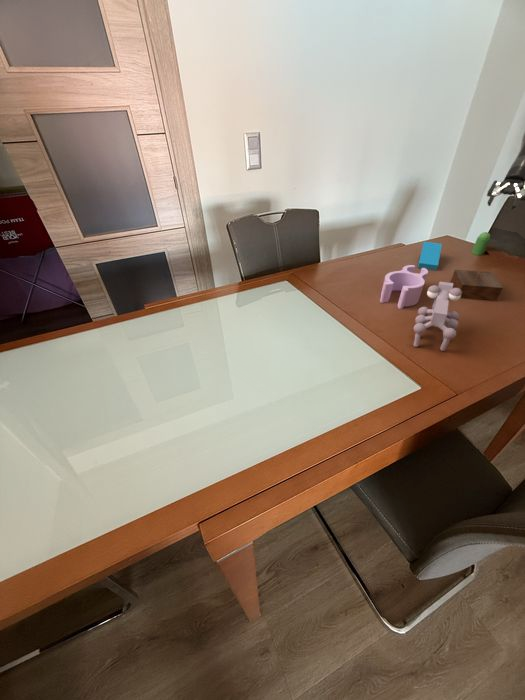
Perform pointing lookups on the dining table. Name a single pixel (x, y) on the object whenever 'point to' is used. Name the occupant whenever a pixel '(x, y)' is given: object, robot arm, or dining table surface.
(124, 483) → the dining table surface
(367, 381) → the dining table surface
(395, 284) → the clip
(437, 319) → the mauve bug toy
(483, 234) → the green toy
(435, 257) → the blue rectangular brick
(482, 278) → the walnut block
